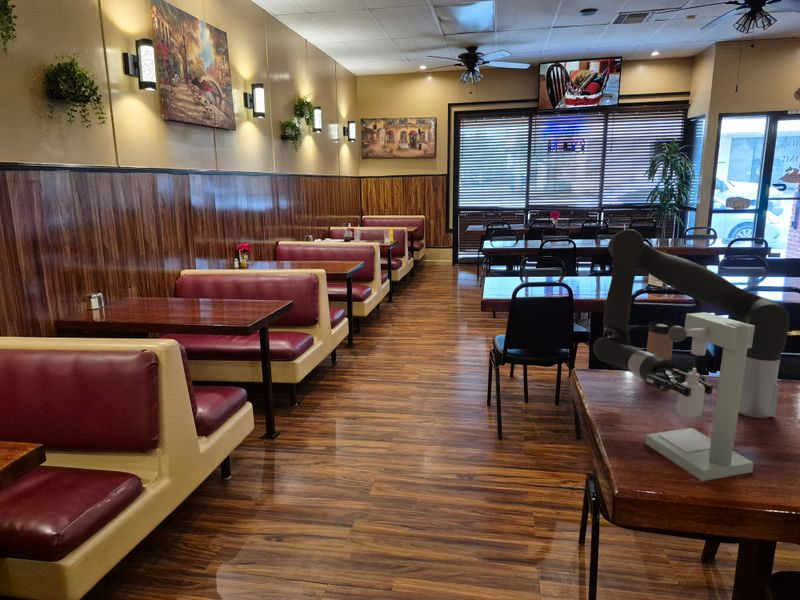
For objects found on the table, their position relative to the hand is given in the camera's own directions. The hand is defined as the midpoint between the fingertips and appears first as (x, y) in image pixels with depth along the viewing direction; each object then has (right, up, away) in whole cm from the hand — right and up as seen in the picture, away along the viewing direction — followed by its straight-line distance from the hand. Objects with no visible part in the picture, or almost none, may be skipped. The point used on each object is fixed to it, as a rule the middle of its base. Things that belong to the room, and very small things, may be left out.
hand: (700, 391), depth 121 cm
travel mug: (+16, -6, +52) cm, 55 cm away
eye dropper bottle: (-1, -7, +4) cm, 8 cm away
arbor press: (-2, -17, +2) cm, 17 cm away
